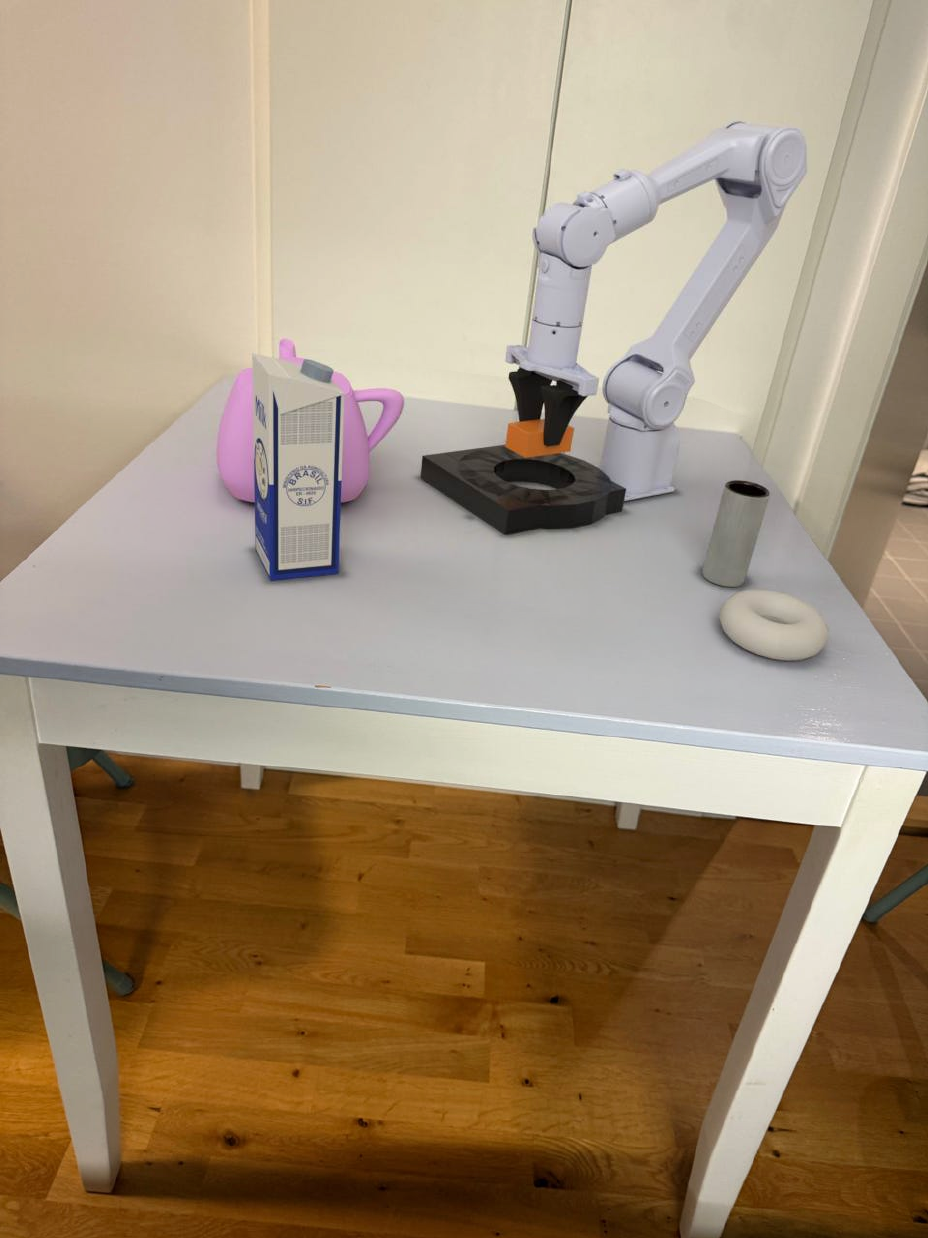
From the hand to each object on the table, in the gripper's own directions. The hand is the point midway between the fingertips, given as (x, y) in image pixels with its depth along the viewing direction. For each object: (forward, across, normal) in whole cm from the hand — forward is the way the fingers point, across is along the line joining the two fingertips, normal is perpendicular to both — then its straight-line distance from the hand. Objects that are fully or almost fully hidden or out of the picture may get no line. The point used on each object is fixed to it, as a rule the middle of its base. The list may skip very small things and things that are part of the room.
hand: (539, 438), depth 107 cm
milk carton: (+8, +5, -34) cm, 35 cm away
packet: (+1, 0, 0) cm, 1 cm away
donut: (+8, +37, 0) cm, 38 cm away
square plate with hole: (+7, 0, 0) cm, 8 cm away
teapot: (+8, -13, -26) cm, 30 cm away
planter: (+8, +26, +6) cm, 28 cm away
